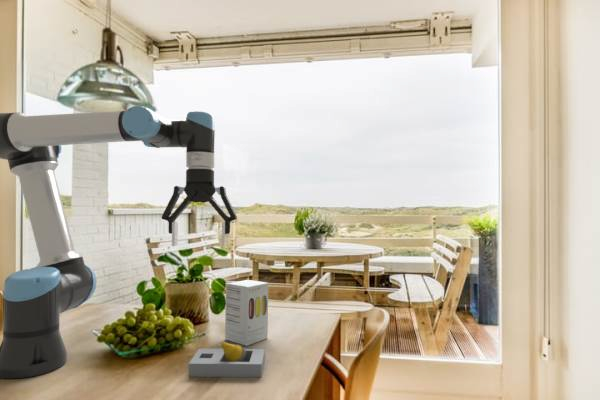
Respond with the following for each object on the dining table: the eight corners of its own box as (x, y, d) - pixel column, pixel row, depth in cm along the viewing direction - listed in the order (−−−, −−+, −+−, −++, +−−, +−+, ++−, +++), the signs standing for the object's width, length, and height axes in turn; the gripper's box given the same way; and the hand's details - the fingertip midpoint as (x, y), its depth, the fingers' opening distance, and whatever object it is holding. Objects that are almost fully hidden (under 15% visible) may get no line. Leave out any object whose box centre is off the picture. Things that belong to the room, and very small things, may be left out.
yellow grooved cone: (251, 367, 102) (230, 347, 96) (233, 374, 102) (210, 355, 97) (251, 348, 106) (230, 328, 100) (233, 355, 107) (211, 336, 101)
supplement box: (246, 346, 116) (246, 287, 117) (223, 340, 122) (224, 283, 122) (268, 338, 124) (269, 282, 124) (246, 332, 130) (247, 278, 130)
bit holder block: (188, 376, 96) (188, 363, 96) (199, 360, 106) (199, 348, 106) (261, 377, 96) (261, 364, 96) (265, 360, 106) (265, 349, 106)
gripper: (150, 167, 110) (149, 246, 110) (243, 168, 110) (242, 247, 110) (159, 169, 117) (158, 244, 117) (247, 170, 117) (246, 244, 117)
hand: (199, 245), depth 113 cm, fingers open, 13 cm apart
